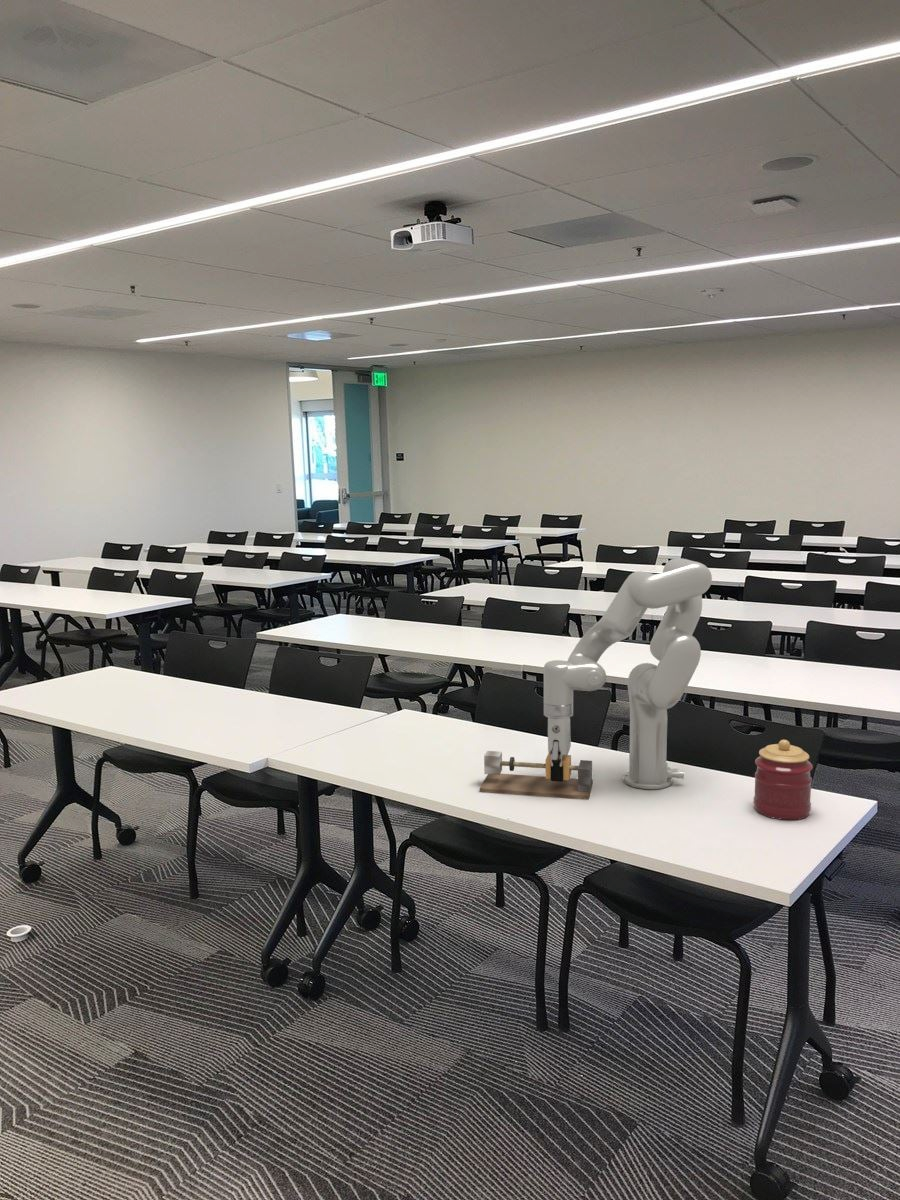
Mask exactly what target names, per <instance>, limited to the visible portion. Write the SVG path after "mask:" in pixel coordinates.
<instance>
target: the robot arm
mask: <svg viewBox="0 0 900 1200" xmlns="http://www.w3.org/2000/svg"><path fill="white" fill-rule="evenodd" d="M712 580H713V576H712V573H711V570H710V569H709V568H708V567H707V565H705V564H703V563H701V562H699V561H694V560H690V559H687V558H682V557H681V558H680V557H676V558H672V559H670V560H668V561H667V562H666V563H665V565H664V567H663V570H662V572H660V573H651V572H647V571H641V570H640V571H634V572H632V573H630V574H629V575H628V576H627V578H626V579H625V580H624V581H623V584H622V585H621V587H620V588H619V589H618V591H617V593H616V594H615V597H614V598H613V600H612V602H611V603H610V604H609V606H608V607H607V609H606V611H605V613H604V614H603V615H602V617H601V618H600V619H599V621H597V622H596V623H594V625H593V626H592V627H590V629H589V630H587V632H585V633H584V635H582V637H581V638H580V639H579V641H578V642H577V644H576V645H575V646H574V648H573V650H572V652H571V653H570V655H569V656H568V658H567V660H562V659H561V660H560V659H558V660H549V661H547V662H545V664H544V666H543V716H545V717H546V718H547V750H548V751H547V754H550V755H551V781H558V782H562V781H563V766H562V758H563V755H565V756H567V755H569V753H570V750H571V746H572V741H571V740H572V739H571V718H572V717H573V716H574V691H585V692H593V691H597V690H599V689H601V688H602V687H603V686H604V685H605V684H606V681H607V672H606V670H605V669H604V667H603V666H602V665H601V664H600V663H598V661H599V660H600V658H601V657H602V655H603V654H604V653H605V652H606V650H608V648H610V647H612V645H614V644H616V643H618V642H622V640H625V639H627V638H628V637H630V636H631V635H632V634H633V632H634V631H635V629H636V628H637V626H638V624H639V623H640V621H641V620H642V618H643V616H644V615H645V613H646V611H648V609H660V608H665V607H667V608H666V610H665V612H664V615H663V617H662V618H661V620H660V623H659V625H658V627H657V628H656V630H655V633H654V634H653V636H652V638H651V640H650V644H649V650H650V651H649V652H650V653H651V655H652V656H653V657H654V658H655V659H656V660H657V661H659V662H658V663H657V665H656V664H654V663H650V662H645V663H639V664H638V665H636V666H635V667H633V668H632V670H631V671H630V672H629V675H628V679H627V691H628V692H627V693H628V699H629V701H628V702H629V720H630V721H629V759H628V760H629V769H628V771H627V772H625V773H624V774H623V782H624V783H625V784H627V785H628V786H631V787H634V788H636V789H643V790H660V789H664V788H667V787H669V786H671V785H672V783H673V778H676V779H683V780H684V779H685V778H684V777H685V771H684V770H680V769H679V768H671V767H670V766H668V763H669V762H667V749H668V748H667V746H668V743H667V739H668V709H671V708H673V707H674V706H675V705H676V704H678V702H679V701H680V700H681V699H682V697H683V695H684V693H685V691H686V690H687V688H688V685H689V684H690V681H691V680H692V678H693V676H694V673H695V671H697V667H698V665H699V663H700V661H701V656H702V655H701V654H702V650H701V645H700V643H699V641H698V640H697V638H696V637H695V636H693V634H694V632H695V630H696V627H697V626H698V622H699V621H700V618H701V615H702V611H703V597H702V595H703V594H705V593H706V592H707V591H708V590H709V588H710V587H711V586H712V585H711V584H712ZM558 757H560V759H558Z"/></svg>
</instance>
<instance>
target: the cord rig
mask: <svg viewBox="0 0 900 1200" xmlns="http://www.w3.org/2000/svg"><path fill="white" fill-rule="evenodd" d="M483 755H484V756H483V760H484V761H483V762H484V763H483V764H484V767H483V769H484V774H483V775H486V776H485V779H484V780H483V782H482V783H481V785H480V787H479V793H487V794H488V793H489V794H503V795H515V796H516V795H517V796H530V797H531V796H532V797H544V798H545V797H546V798H559V799H560V798H561V799H570V800H571V799H574V800H585V801H586V800H588V801H589V799H590V796H591V792H592V788H593V784H594V780H593V760H588V759H587V760H585V759H580V761H579V764H578V765H572V764H571V765H570V770H571V771H577V778H573V777H570V778H569V780H563V781H562V782H558V781H551V779H546V775H543V776H542V775H530V774H529V775H527V774H512V773H502V771H503V766H504V767H508V768H509V771H510V772H514V770H515V767H516V768H518V767H519V768H535V769H546V763H538V762H524V761H515V757H514V756H510V758H509V761H507V760H503V751H498V750H497V751H496V750H486V752H485V754H483Z"/></svg>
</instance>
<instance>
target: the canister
mask: <svg viewBox="0 0 900 1200" xmlns="http://www.w3.org/2000/svg"><path fill="white" fill-rule="evenodd" d="M758 751H759V752H758V754H759V756H758V757H756V758H755V760H754V764H755V765H756V766H757V767H756V771H755V772H754V796H753V805H754V809H755V811H756V810H757V811H756V812H757V813H759V814H761V815H763V816H765V815H766V817H768V816H769V817H768V818H771V817H774V818H773V819H776V818H781V819H780V820H783V819H796V820H800V819H799V818H802V819H804V818H803V817H805V818H807V817H808V816H810V811H811V810H812V806H811V805H812V802H811V797H812V796H811V795H812V794H811V791H812V782H813V779H812V778H813V777H812V776H811V771H812V769H813V763H811V762H810V761H809V759H810V755H809V754H808V753H807V752H806V751H805V750H803V748H801V747H799V746H796V745H792V744H791V743H790V741H789V740H787V739H780V741H779V742H778V743H775V744H768V745H766V746H765V747H763V748H761V749H759V750H758ZM806 816H807V817H806Z"/></svg>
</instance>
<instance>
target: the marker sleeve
mask: <svg viewBox="0 0 900 1200" xmlns="http://www.w3.org/2000/svg"><path fill="white" fill-rule="evenodd" d="M558 759H560V757H558ZM545 764H546V768H545V776H546V779H551V755H550V754H549V753H547V756H546V758H545ZM570 765H572V755H570V754H568V755H567V756H565V755H563V758H562V766H563V780H569V778H571V775H572V770H570Z"/></svg>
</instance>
